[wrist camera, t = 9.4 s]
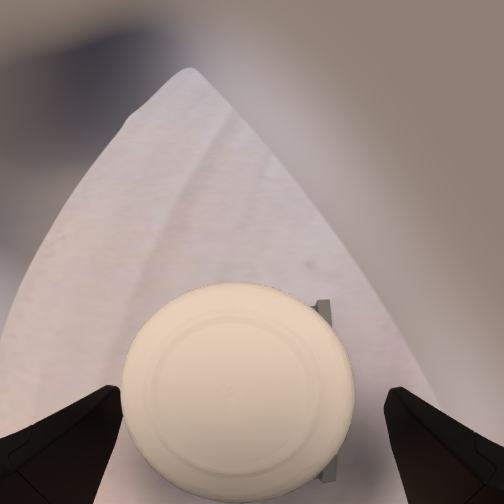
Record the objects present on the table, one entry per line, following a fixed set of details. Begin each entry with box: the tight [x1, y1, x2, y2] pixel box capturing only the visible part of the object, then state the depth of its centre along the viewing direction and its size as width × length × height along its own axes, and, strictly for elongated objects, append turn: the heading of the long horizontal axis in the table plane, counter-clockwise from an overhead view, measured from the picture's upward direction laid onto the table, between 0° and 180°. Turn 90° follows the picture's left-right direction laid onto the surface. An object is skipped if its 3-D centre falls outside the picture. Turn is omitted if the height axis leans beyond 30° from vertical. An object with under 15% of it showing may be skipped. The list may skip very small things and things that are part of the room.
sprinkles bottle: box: [121, 282, 355, 503], centre depth 10 cm, size 5×5×14 cm
